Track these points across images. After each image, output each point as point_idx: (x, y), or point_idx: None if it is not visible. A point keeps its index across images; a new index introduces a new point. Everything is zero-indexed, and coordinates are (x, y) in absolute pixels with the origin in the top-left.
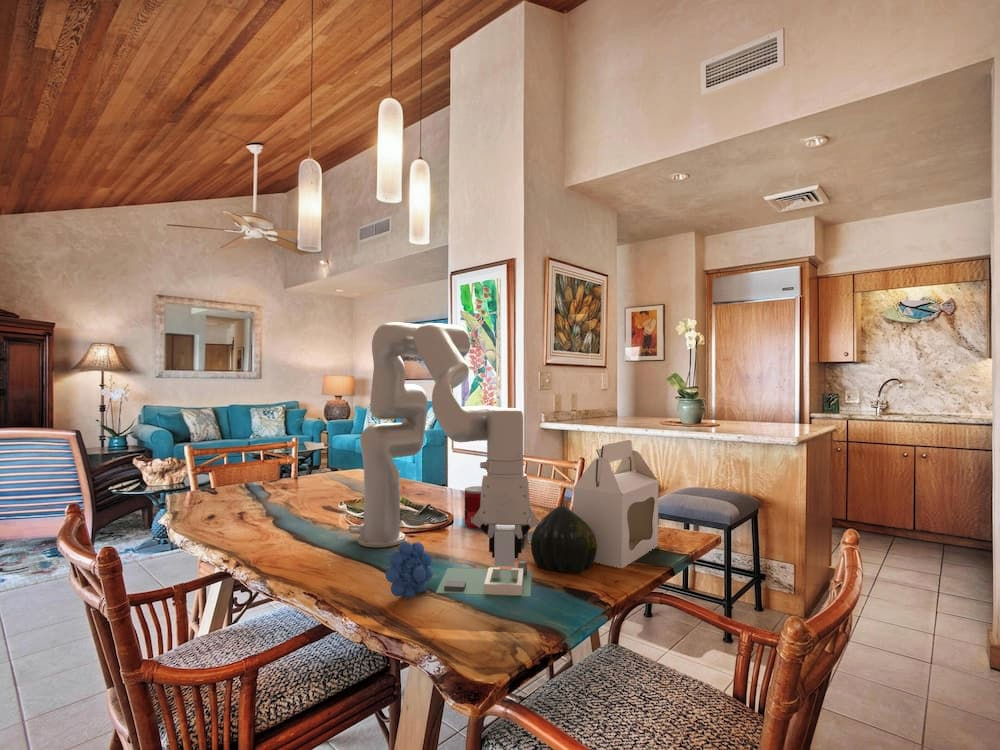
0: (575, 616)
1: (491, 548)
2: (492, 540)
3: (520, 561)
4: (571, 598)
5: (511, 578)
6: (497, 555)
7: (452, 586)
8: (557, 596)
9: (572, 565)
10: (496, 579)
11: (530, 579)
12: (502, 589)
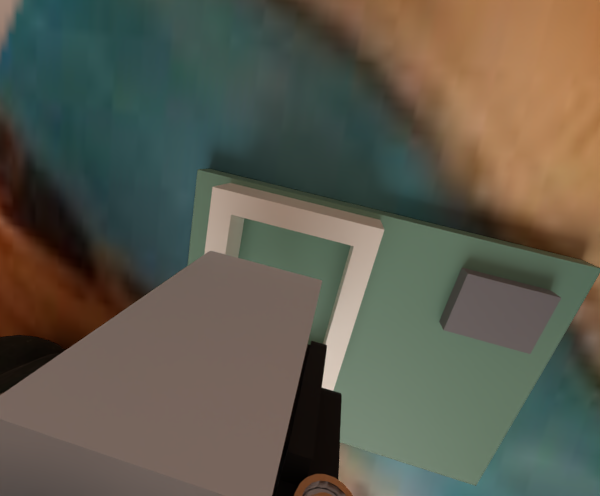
0: (63, 22)
1: (322, 403)
2: (310, 441)
3: None
4: (72, 184)
5: None
6: (293, 304)
7: (521, 287)
8: (115, 207)
9: (18, 351)
10: None
11: None
12: (301, 205)
